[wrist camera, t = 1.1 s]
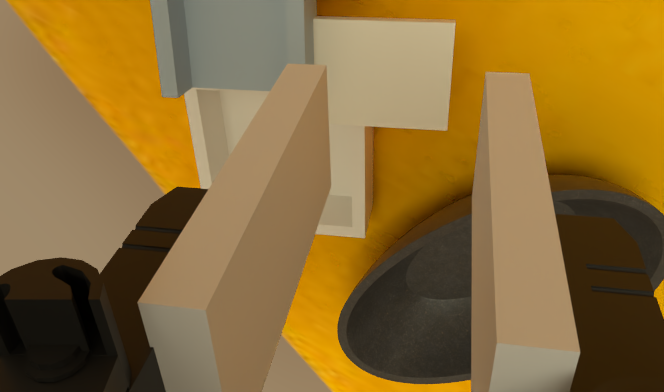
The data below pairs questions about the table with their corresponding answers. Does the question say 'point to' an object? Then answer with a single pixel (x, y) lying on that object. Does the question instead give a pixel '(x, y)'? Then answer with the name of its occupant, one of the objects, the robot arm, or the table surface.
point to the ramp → (310, 56)
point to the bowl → (461, 284)
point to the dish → (345, 154)
